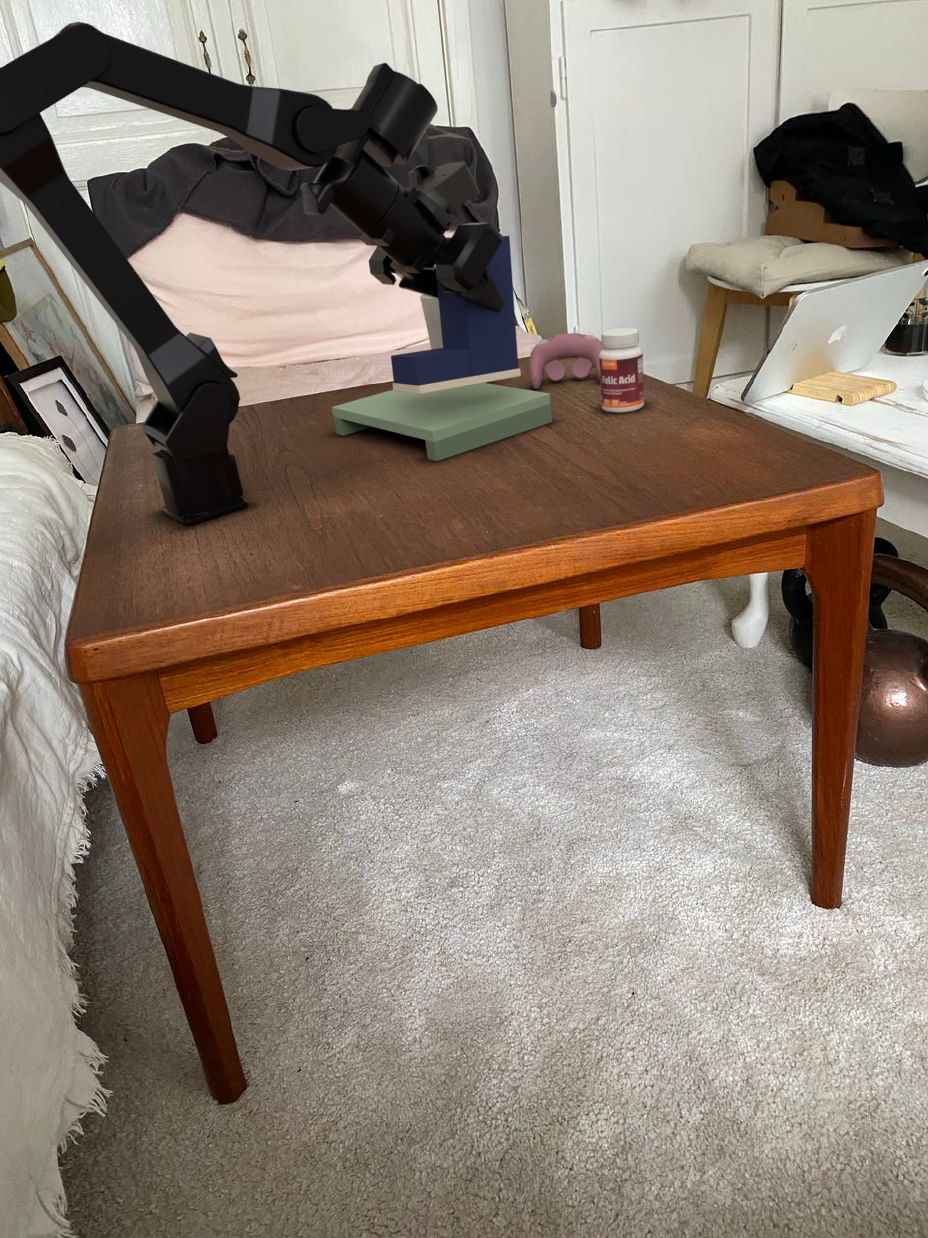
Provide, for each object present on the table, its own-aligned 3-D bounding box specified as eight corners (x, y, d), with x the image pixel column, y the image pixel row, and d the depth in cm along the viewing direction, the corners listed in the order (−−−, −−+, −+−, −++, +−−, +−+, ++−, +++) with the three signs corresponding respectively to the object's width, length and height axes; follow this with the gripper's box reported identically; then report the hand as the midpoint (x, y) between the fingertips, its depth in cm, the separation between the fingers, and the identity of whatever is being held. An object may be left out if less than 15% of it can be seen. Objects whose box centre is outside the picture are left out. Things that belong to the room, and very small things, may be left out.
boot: (420, 394, 95) (404, 244, 90) (393, 390, 100) (376, 248, 95) (521, 376, 101) (511, 235, 96) (491, 373, 106) (480, 238, 101)
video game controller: (609, 388, 121) (605, 334, 121) (609, 379, 117) (605, 323, 117) (531, 396, 123) (528, 342, 123) (529, 387, 118) (525, 331, 118)
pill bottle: (598, 414, 105) (594, 337, 101) (605, 402, 109) (601, 328, 106) (641, 412, 104) (638, 334, 100) (647, 401, 108) (644, 325, 104)
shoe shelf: (436, 461, 96) (432, 430, 95) (336, 433, 111) (331, 406, 110) (552, 422, 105) (550, 393, 103) (444, 401, 119) (441, 375, 118)
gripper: (473, 125, 83) (581, 240, 93) (377, 141, 98) (478, 239, 107) (408, 234, 83) (522, 338, 93) (321, 233, 98) (428, 324, 107)
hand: (486, 305), depth 100 cm, fingers closed on boot, 5 cm apart
